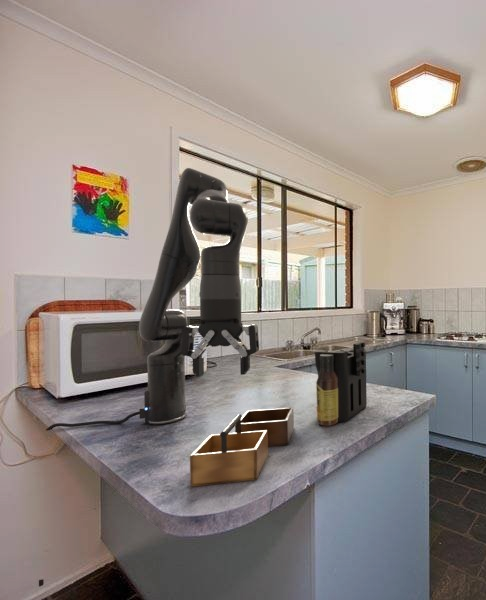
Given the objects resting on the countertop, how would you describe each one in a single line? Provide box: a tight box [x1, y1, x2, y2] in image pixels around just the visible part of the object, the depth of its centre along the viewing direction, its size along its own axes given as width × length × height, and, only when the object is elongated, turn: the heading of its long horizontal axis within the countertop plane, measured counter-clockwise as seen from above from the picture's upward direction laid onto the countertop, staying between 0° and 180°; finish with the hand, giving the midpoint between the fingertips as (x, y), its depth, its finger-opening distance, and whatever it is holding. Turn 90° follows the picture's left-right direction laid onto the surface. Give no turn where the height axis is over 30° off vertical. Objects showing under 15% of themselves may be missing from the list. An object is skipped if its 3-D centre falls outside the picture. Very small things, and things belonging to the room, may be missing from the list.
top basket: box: [189, 413, 269, 488], centre depth 69 cm, size 12×10×10 cm
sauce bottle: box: [315, 354, 339, 427], centre depth 94 cm, size 7×6×20 cm
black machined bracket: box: [313, 341, 368, 423], centre depth 103 cm, size 12×21×22 cm, turn 162°
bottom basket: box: [234, 407, 295, 448], centre depth 84 cm, size 12×10×6 cm
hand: (221, 375), depth 68 cm, fingers open, 8 cm apart
